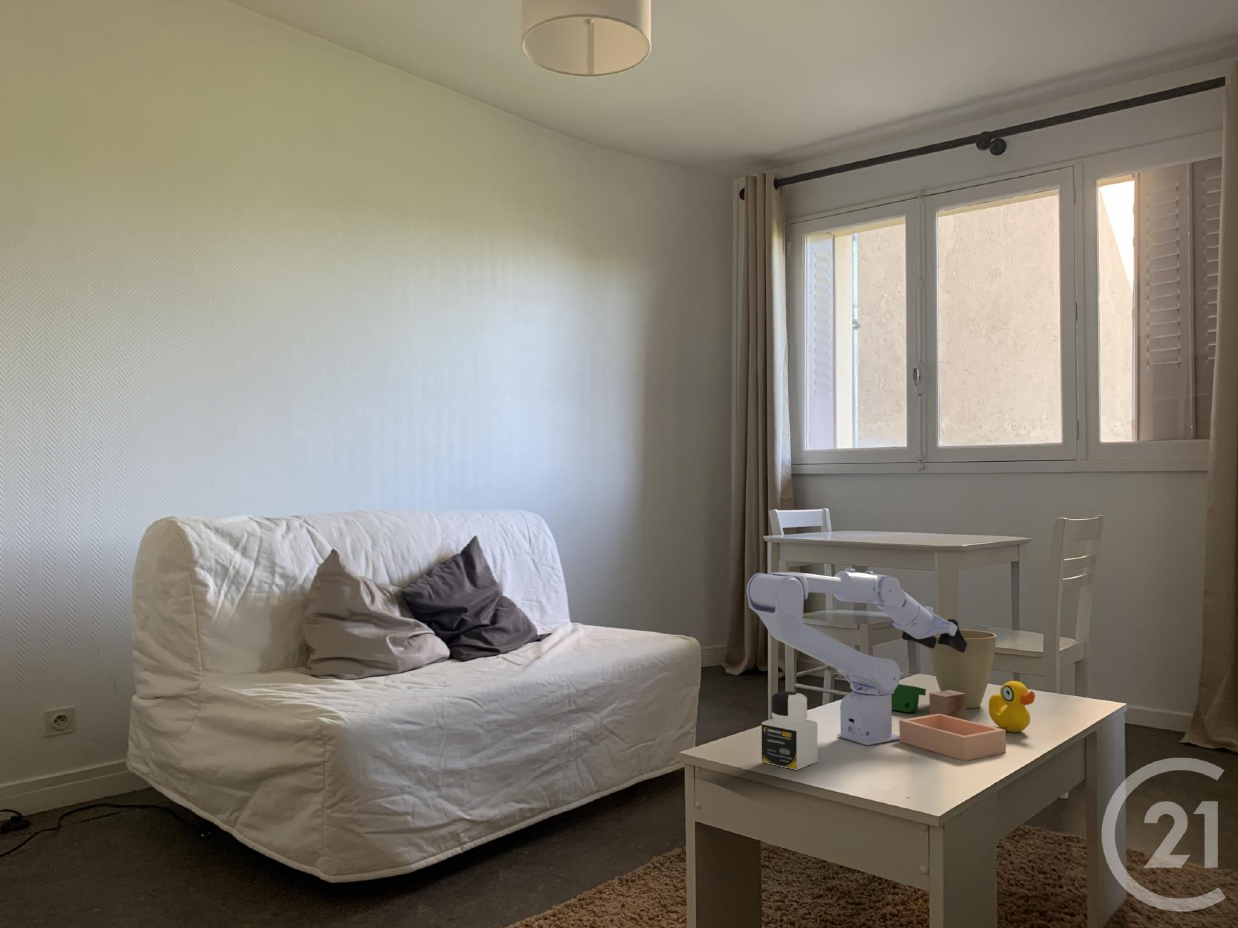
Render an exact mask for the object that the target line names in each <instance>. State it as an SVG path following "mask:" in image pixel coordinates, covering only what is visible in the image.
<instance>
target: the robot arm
mask: <svg viewBox="0 0 1238 928" xmlns="http://www.w3.org/2000/svg"><path fill="white" fill-rule="evenodd" d="M809 593H817V594H818V593H819V594H833V596H834V598H835V599H836V600H837V601H840V602H849V603H858V604H859V603H861V604H862V603H863V604H867V603H868V604H874V606H875V607H877V608H878V609H879V610H880V611H882V612H883V613H884V614H886V615H887V616H888V617H889V618H890V619H892V620H893V623H892V626H893V627H894V628H895V629H897V630H898V631H902V635H901V638H902V640H904V641H912V642H914V643H918V644H920V645H921V646H924V647H927V648H928V647H929V648H933V649H934V647H935V644H936V642H937V639H936V638H935V635H939V634H941V635H940V637H939V640H938V644H942V645H947V646H950V647H952V648H953V649H955V650H957V651H959V652H963V653H964V652H965V649H966V647H967V643H966V641H965V639H964V638H963V636H962V635H961V633H960V630H959V629H960V625H959V622H958V621H957V620H956V619H955V618H948V620H945V619H943V618H942V617H940V616H939V615H936V614H935V613H934V608H933V607H932V606H929V605H928V606H923V605H922V604H920V603H919V602H918V601H917V600H915V599H914V598H913V597H911V596H910V595H909V594H908V593H907V592H905V591H904V590H903V589H902V587H901V583H900V581H899V580H898V578H897V577H895V576H894V577H893V576H891V575H888V574H887V575H886V574H885V575H884V574H876V573H875V574H874V572H873V571H868V570H866V571H865V572H857V571H856V569H855V568H845V569H844V570H841V571H838V572H837V573H836V574H835V575H834V576H826V575H821V574H813V573H804V572H796V571H787V572H785V571H784V572H782V571H781V572H777V571H776V572H769V574H767V573H764V572H757V573H755V574H753V575H752V576H751V577H750V579H749V580H748V582H747V586H746V596H747V601H748V607H749V608H750V609H751V610H752V611H753V612H754V613H755V614H757V616H758V617H759V618H760V620H761V621H762V623H763V624H764V626H765V627H766V629H767V630H768V632H769V633H770V635H771V636H772V638H773V639H775V640H777V641H779V642H780V643H783V644H785V645H787V646H789V647H791V648H793V649H795V650H797V651H799V652H801V653H803V654H805V655H807V656H810V657H811V658H813V659H816V660H818V661H820V662H821V663H824V664H825V665H828V666H830V667H832V668H833V669H836V670H837V672H838V673H839V674H841V675H843V677H844V678H845V679H846V681H847V682H848V683H849V685H850V687H849V689H851V690H852V691H851V692H850V694H847V695H845V696H843V698H842V699H841V702H840V708H839V709H840V712H839V713H840V733H837V737H839V738H843V739H846V740H849V741H851V742H852V741H853V742H856V743H858V744H861V745H866V746H870V745H876V744H881V743H888V742H893V741H898V740H899V741H900V734H899V735H898V734H894V733H893V720H892V719H893V717H892V716H893V715H892V713H893V712H892V699H891V694H892V693H894V690H895V689H896V688H897V686H898V684H900V680H901V669H900V666H899V665H898V663H897V662H896V661H895V660H893V659H890V658H881V657H876V656H873V655H870V654H867V653H864V652H861V651H858V649H857V650H856V649H855V648H853V647H851V646H849V645H847V644H846V643H843V642H841V641H839V640H837V639H835V638H833V637H831V636H829V635H827V634H825V633H823V632H821V631H820V630H818V629H815V628H813V627H811V626H809V625H807V624H805V622H804V621H803V618H804V617H803V615H804V600H807V599H808V596H809ZM929 648H928V649H929Z"/></svg>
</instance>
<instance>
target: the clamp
mask: <svg viewBox="0 0 1238 928" xmlns="http://www.w3.org/2000/svg"><path fill="white" fill-rule="evenodd" d="M926 691H927V689H926V688H922V687H918V686H913V685H907V684H900V683H899V684H898V686H897V688H896V689H895V690H894V693H892V694H891V699H892V710H894V711H899V712H903V713H910V714H914V713H916V712H917V711H918V709H919V701H920V696H926V694H927V693H926Z"/></svg>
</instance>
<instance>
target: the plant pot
mask: <svg viewBox="0 0 1238 928" xmlns="http://www.w3.org/2000/svg"><path fill="white" fill-rule="evenodd" d="M959 630H960V633H961V635H962V636H963V638H964V639H965V641H966V643H967V647H966V649H965V652H964V653H963V652H959V651H957V650H955V649H953V648H952V647H950V646H947V645H942V644H938V640H939V637H940V635H941V634H939V635H935V638H936V639H937V642H936V644H935V647H934V649H933V648H929V647H927V648H928V652H929V657H930V661H931V666H932V669H933V673H934V676H935V679H936V682H937V686H938V688H939V690H940V691H947V690H952V691H956V692H961V693H966V709H976V708H979V707H980V706H981V704H982V702H983V699H984V697H985V693H986V690H987V687H988V684H989V679H990V676H991V672H992V668H993V664H994V657H995V649H996V643H997V642H996V641H997V634H995V633H993V632H989V631H985V630H984V631H982V630H975V629H961V628H959ZM940 691H939V692H940Z"/></svg>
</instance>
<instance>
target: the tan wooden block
mask: <svg viewBox="0 0 1238 928" xmlns="http://www.w3.org/2000/svg"><path fill="white" fill-rule="evenodd" d="M928 696H929V715H933V714H943V715H947V716H951V717H955V718H959V719H963V720H967V708H966V693H961V692H956V691H952V690H947V691H935V692H929V695H928Z"/></svg>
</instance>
